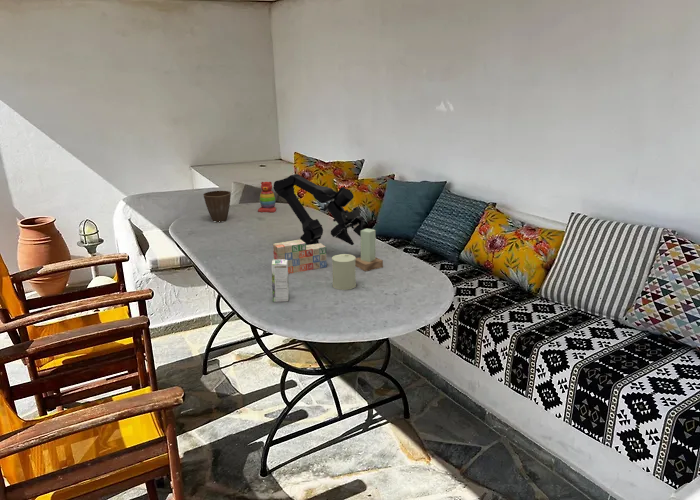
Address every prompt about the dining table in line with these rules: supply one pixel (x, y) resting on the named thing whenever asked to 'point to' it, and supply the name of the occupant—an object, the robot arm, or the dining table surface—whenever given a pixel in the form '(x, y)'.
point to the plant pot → (218, 204)
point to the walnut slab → (368, 264)
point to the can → (344, 271)
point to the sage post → (368, 245)
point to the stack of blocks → (301, 255)
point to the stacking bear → (267, 198)
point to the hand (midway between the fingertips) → (359, 241)
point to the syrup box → (280, 280)
